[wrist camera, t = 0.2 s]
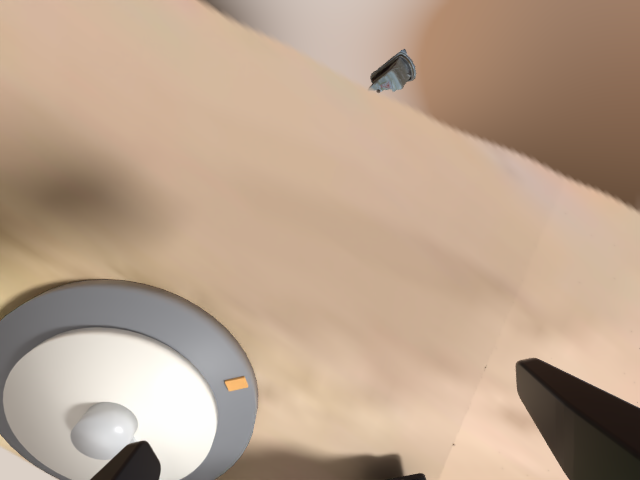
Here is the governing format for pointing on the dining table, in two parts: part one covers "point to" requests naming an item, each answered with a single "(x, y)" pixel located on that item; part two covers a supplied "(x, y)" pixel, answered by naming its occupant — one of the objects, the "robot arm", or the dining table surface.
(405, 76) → the chocolate cake
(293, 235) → the dining table surface
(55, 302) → the dial base
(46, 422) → the dial
